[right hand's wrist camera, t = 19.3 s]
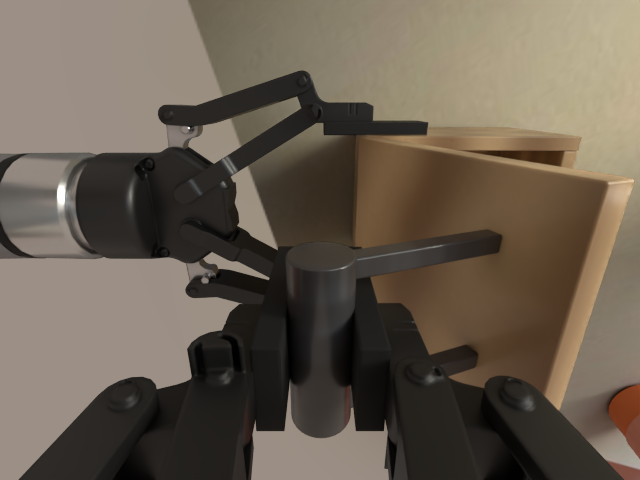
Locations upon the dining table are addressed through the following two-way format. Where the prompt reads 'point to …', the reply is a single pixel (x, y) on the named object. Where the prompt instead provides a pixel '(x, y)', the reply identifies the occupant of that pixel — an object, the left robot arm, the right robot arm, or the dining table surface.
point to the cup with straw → (628, 415)
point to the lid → (455, 271)
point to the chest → (490, 146)
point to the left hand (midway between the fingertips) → (413, 206)
